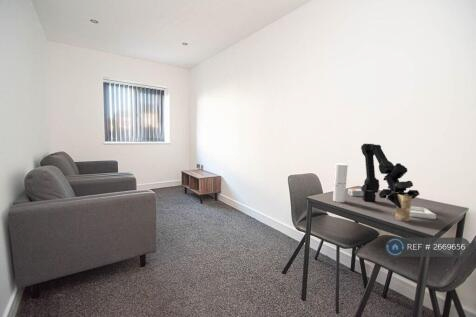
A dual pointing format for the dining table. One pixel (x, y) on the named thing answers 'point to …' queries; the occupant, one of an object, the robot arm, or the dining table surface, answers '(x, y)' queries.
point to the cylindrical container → (340, 182)
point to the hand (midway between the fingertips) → (405, 208)
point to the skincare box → (355, 192)
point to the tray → (421, 213)
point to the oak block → (403, 208)
